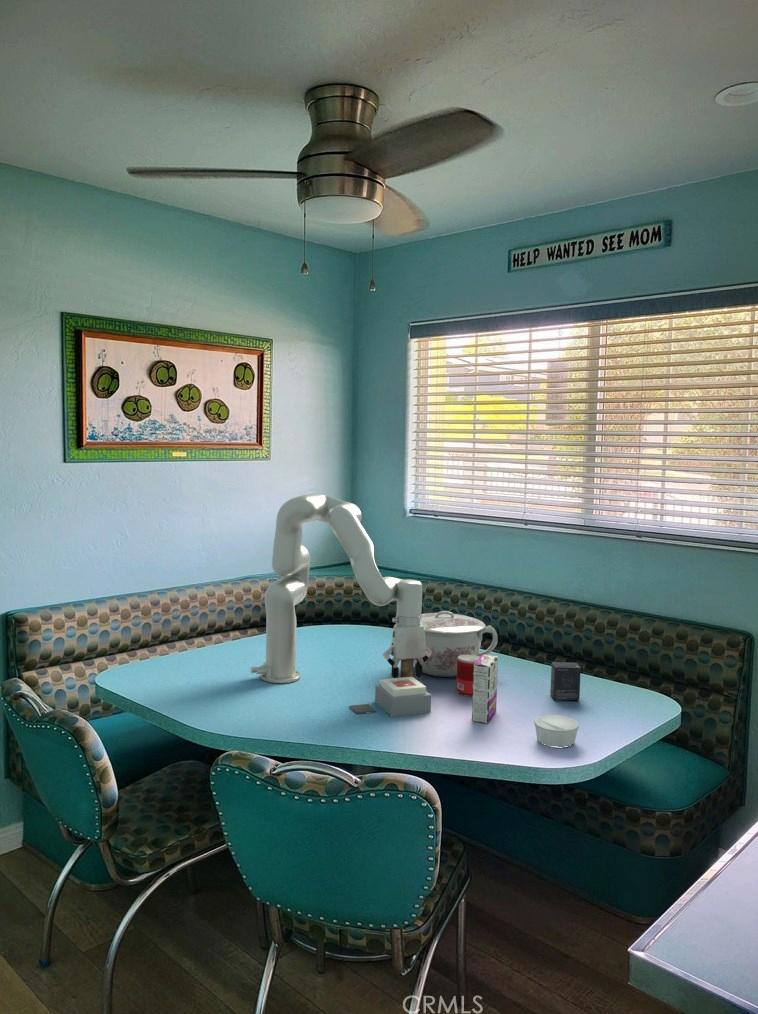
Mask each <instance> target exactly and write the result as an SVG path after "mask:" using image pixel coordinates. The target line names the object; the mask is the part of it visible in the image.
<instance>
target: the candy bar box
mask: <svg viewBox="0 0 758 1014" xmlns="http://www.w3.org/2000/svg"><path fill="white" fill-rule="evenodd" d="M498 661H499V656H498V655H491V654H487V655H482V656H481V657H480V658H479V659H478V660H477V661H476V663H475V664H474V666H473V696H472V702H471V703H472V707H471V710H472V711H471V712H472V713H471V722H474V723H478V724H479V723H481V724H487V725H488V724H489V723H490V721H491V720H492V718H493V716H495V713H496V712H497V693H498V670H499V669H498V668H499V667H498V665H499V662H498Z"/></svg>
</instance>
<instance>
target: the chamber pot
mask: <svg viewBox="0 0 758 1014" xmlns="http://www.w3.org/2000/svg"><path fill="white" fill-rule="evenodd" d="M421 624H422V625H423V626H424V631H425V641H426V646H427V647H428V648H429V649H430V650H431V651H432V654H431V655H430V656H429V657H428V659H427V660H426V661H425V662H424V665H422V673H424V674H427V675H429V676H433V677H439V678H454V676H455V677H457V659H458V656H460V655H465V654H469V655H477V656H480V657H481V656H482V655H489V654H490V653H491V652H492V651H493V650H494V649H495V648H496V647H497V645H498V642H499V641H498V633H497V631H496V629H495V628H494V627H493V626H492V625H487V626H486V624H485V623H484V621H482V620H480V619H478V618H475V617H471V616H468V615H464V614H459V613H453V612H451V611H448V610H441V611H438V612H427V613H421ZM484 633H490V634H491V635H492V642H491V644H490V646H489V647H488V648H487V649H485V650H483V651H481V643H482V641H483V634H484ZM480 651H481V652H480ZM416 663H417V661H416V659H414V665H415V664H416Z"/></svg>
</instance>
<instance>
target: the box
mask: <svg viewBox="0 0 758 1014" xmlns="http://www.w3.org/2000/svg"><path fill="white" fill-rule="evenodd" d="M550 671H551V672H550V673H551V675H550V692H549V693H550V694H551V695H550V696H551V698H552V697H553V698H552V699H554V700H553V701H559V700H579V701H580V696H581V695H580V693H581V692H580V691H581V690H580V689H581V674H582V673H581V672H582V671H581V666H580V665H579V664H578V663H577V662H562V661H561V662H560V661H559V662H558V661H557V662H556V661H552V662H551V670H550Z"/></svg>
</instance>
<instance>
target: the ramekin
mask: <svg viewBox="0 0 758 1014" xmlns="http://www.w3.org/2000/svg"><path fill="white" fill-rule="evenodd" d="M534 727H535V733H536V739H537V741H538V742H539V743H540V742H541V743H543V744H546V745H549V746H558V747H564V746H570V745H572V744H573V745H574V744H575V743H576V738H577V734H578V730H579V727H580V726H579V723H578V722H577V721H576V720H574V719H573V718H570V717H567V716H563V715H555V714H554V715H548V714H547V715H542V716H538V717H536V718H535V719H534ZM541 743H540V744H541ZM543 744H542V745H543ZM573 745H572V746H573Z"/></svg>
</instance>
